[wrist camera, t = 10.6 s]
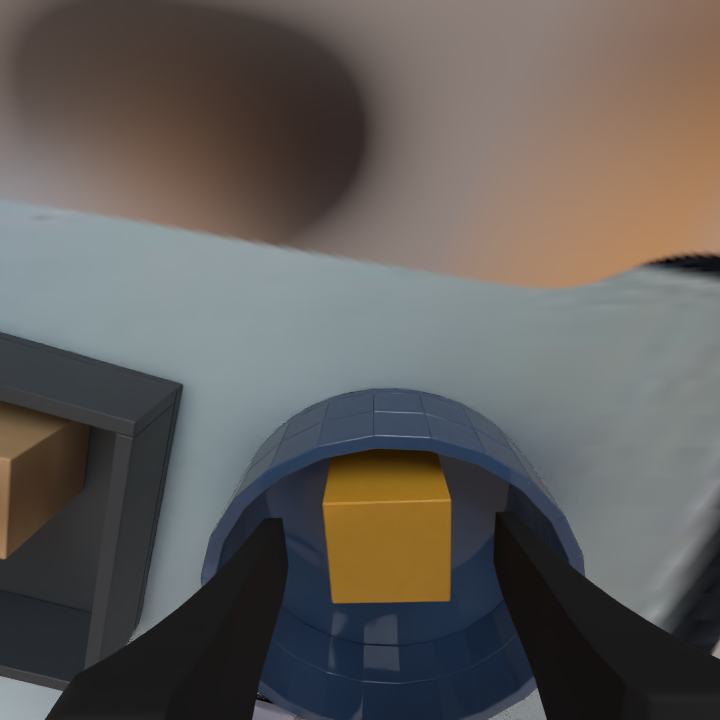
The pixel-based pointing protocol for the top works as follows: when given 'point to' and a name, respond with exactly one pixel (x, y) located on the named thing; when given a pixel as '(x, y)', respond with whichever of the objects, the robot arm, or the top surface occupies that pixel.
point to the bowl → (392, 619)
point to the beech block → (37, 470)
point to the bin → (85, 514)
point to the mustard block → (387, 527)
